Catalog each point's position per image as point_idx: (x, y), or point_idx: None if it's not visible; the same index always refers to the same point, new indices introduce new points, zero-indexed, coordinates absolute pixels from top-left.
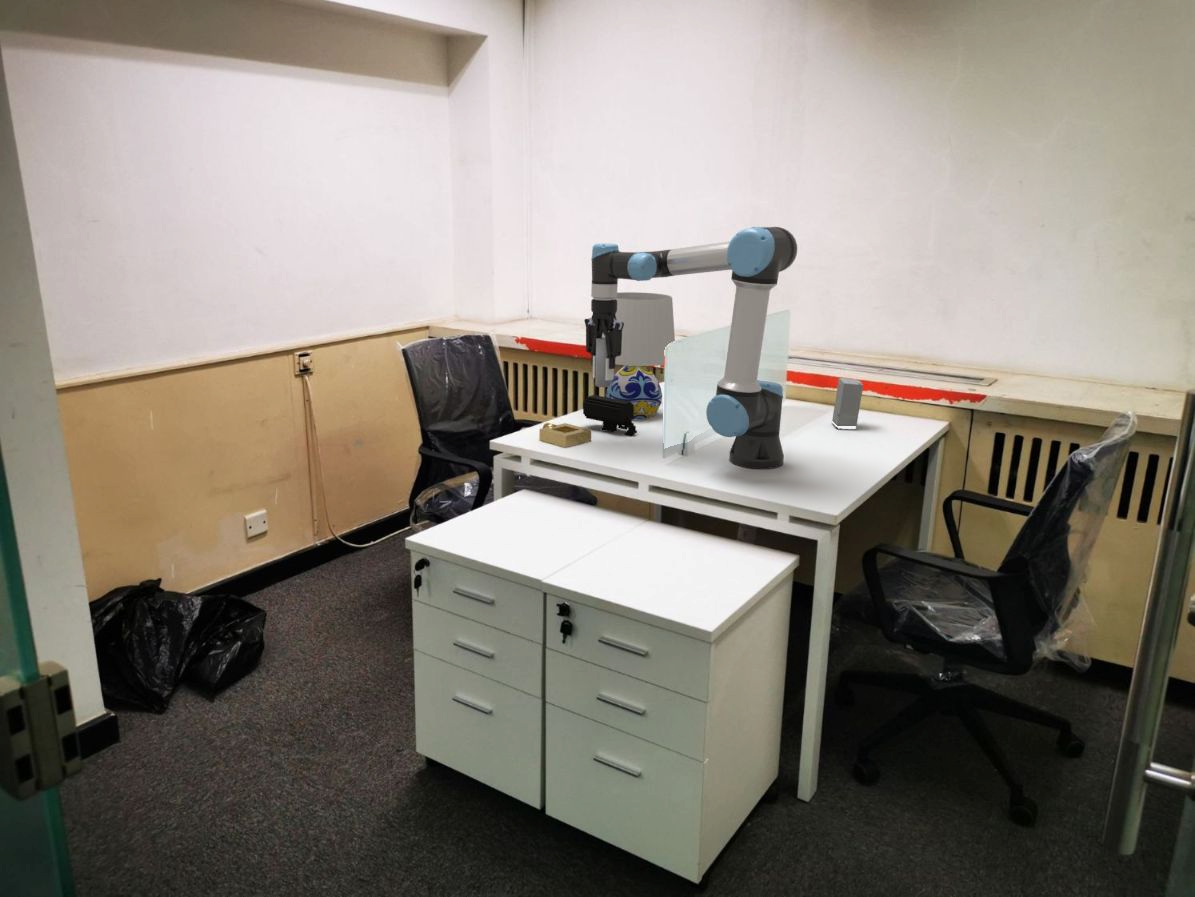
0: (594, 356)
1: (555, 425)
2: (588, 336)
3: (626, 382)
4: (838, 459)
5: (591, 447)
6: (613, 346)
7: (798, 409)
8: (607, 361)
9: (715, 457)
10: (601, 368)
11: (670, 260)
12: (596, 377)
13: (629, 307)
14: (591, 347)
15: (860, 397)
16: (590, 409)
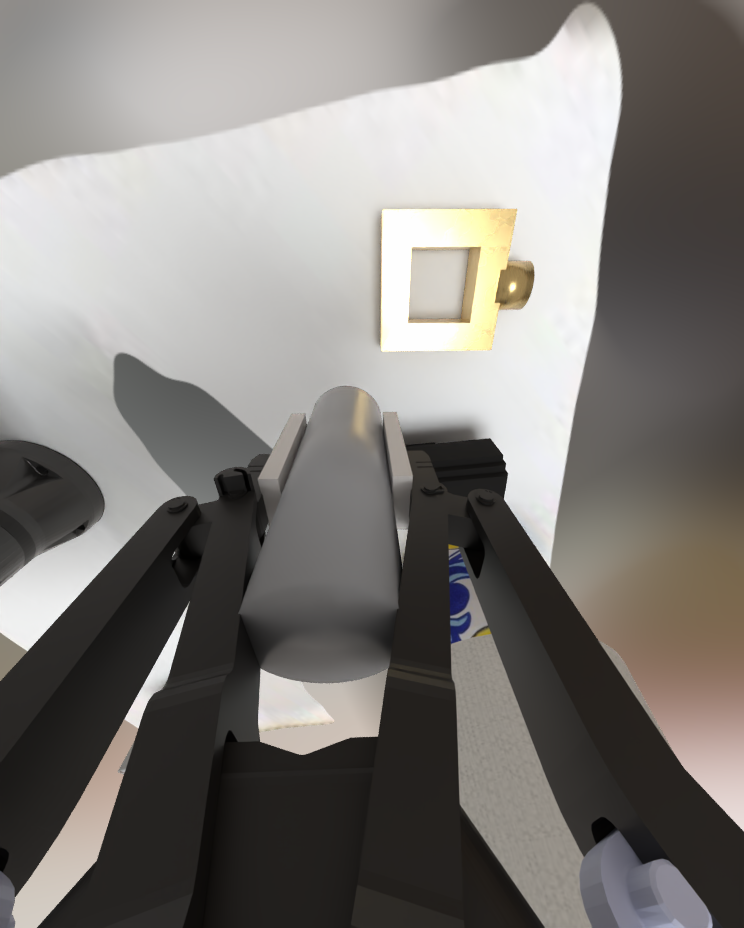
0: (395, 474)
1: (496, 295)
2: (534, 610)
3: (472, 606)
4: (19, 582)
5: (332, 291)
6: (146, 560)
7: (296, 703)
8: (265, 466)
9: (103, 455)
10: (315, 428)
11: None
12: (355, 402)
13: None
14: (447, 520)
15: (133, 743)
16: (469, 449)
